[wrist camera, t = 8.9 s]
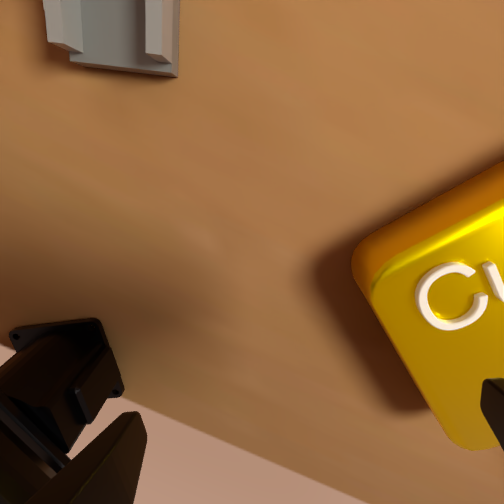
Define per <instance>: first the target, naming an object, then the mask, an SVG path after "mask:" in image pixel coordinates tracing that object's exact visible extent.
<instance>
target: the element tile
mask: <svg viewBox="0 0 504 504" xmlns="http://www.w3.org/2000/svg"><path fill="white" fill-rule="evenodd" d="M351 270H352V274H353V277H354V279H355V281H356V283H357V284H358V286H359V288H360V290H361V291H362V293H363V295H364V296H365V298H366V300H367V302H368V303H369V305H370V307H371V309H372V310H373V312H374V314H375V315H376V317H377V319H378V321H379V322H380V324H381V326H382V327H383V329H384V331H385V333H386V334H387V336H388V338H389V340H390V341H391V343H392V345H393V346H394V348H395V350H396V352H397V353H398V355H399V357H400V359H401V360H402V362H403V364H404V365H405V367H406V369H407V371H408V372H409V374H410V376H411V378H412V379H413V381H414V383H415V384H416V386H417V388H418V390H419V391H420V393H421V395H422V396H423V398H424V400H425V401H426V403H427V404H428V406H429V408H430V409H431V411H432V412H433V414H434V416H435V417H436V419H437V421H438V422H439V424H440V425H441V427H442V429H443V430H444V432H445V433H446V435H447V436H448V438H449V439H450V440H451V441H452V442H453V443H455V444H456V445H458V446H459V447H461V448H463V449H468V450H471V451H475V450H485V449H489V448H493V447H497V446H500V444H499V442H498V440H497V438H496V436H495V435H494V433H493V431H492V429H491V428H490V426H489V424H488V422H487V421H486V419H485V417H484V415H483V413H482V411H481V408H480V399H481V390H482V382H483V381H484V379H488V378H498V377H500V378H504V160H503V161H502V162H500V163H498V164H496V165H494V166H493V167H491V168H489V169H487V170H485V171H484V172H482V173H480V174H478V175H476V176H475V177H473V178H471V179H469V180H467V181H465V182H464V183H462V184H460V185H458V186H456V187H455V188H453V189H451V190H449V191H447V192H446V193H444V194H442V195H440V196H438V197H436V198H435V199H433V200H431V201H429V202H427V203H426V204H424V205H422V206H420V207H418V208H417V209H415V210H413V211H411V212H409V213H408V214H406V215H404V216H402V217H400V218H398V219H397V220H395V221H393V222H391V223H389V224H388V225H386V226H384V227H382V228H380V229H379V230H377V231H375V232H373V233H371V234H370V235H369V236H367V237H366V238H365V239H363V240H362V241H361V242H360V244H359V245H358V246H357V247H356V248H355V249H354V252H353V255H352V258H351Z"/></svg>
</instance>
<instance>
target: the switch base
mask: <svg viewBox="0 0 504 504" xmlns="http://www.w3.org/2000/svg"><path fill="white" fill-rule="evenodd" d="M43 6H44V10H45V18H46V29H47V39H48V42H50V43H52V44H54V45H56V46H58V47H61V48H63V49H65V50H67V51H69V57H70V61H71V62H74V63H76V64H79V65H81V66H84V67H93V68H101V69H110V70H119V71H127V72H136V73H144V74H153V75H161V76H170V77H178V51H179V13H180V0H43Z"/></svg>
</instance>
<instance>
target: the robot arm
mask: <svg viewBox="0 0 504 504" xmlns="http://www.w3.org/2000/svg"><path fill="white" fill-rule="evenodd" d="M91 325H94V326H95V328H94V327H92V326H91ZM18 335H19V336H18ZM9 338H10V340H11V342H12V344H13V346H14V348H15V350H16V352H17V353H16V354H15V355H13V356H12V357H11V358H10V359H9V360H8V361H6V362H5V363H4V364H3V365H2V366H1V367H0V504H133V502H134V498H135V494H136V489H137V485H138V480H139V476H140V471H141V467H142V462H143V457H144V453H145V448H146V444H147V433H146V429H145V427H144V424H143V421H142V418H141V415H140V413H139V412H137V411H133V412H124V413H122V414H121V415H120V416H119V417H118V418H116V419H115V420H114V421H113V422H112V423H111V424H110V425H109V426H108V427H107V428H106V429H105V430H104V431H103V432H101V433H100V434H99V435H98V436H97V437H96V438H95V439H94V440H93V441H92V442H91V443H89V444H88V445H87V446H86V447H85V448H84V449H83V450H82V451H81V452H80V453H79V454H78V455H76V456H75V457H74V458H73V459H72V460H71V459H70V458H69V457H68V456H67V455H66V454H67V453H69V451H70V450H71V448H72V447H73V445H74V443H75V442H76V440H77V439H78V437H79V435H80V434H81V432H82V431H83V429H84V427H85V426H86V424H91V423H92V422H93V421H94V419H95V418H96V416H97V414H98V412H99V411H100V409H101V408H102V406H103V404H104V403H105V401H106V399H107V398H117V397H120V396H121V395H122V394H123V392H124V390H125V389H124V385H123V382H122V379H121V377H120V376H121V374H120V372H119V369H118V366H117V363H116V360H115V358H114V355H113V352H112V349H111V348H110V346H109V343H108V340H107V338H106V335H105V332H104V329H103V326H102V324H101V322H100V321H99V320H98V319H95V318H90V319H82V320H74V321H66V322H57V323H49V324H41V325H33V326H24V327H17V328H15V329H13V330H12V331H11V332H10V333H9ZM115 389H116V390H115ZM117 390H118V391H117ZM480 408H481V411H482V413H483V415H484V417H485V419H486V421H487V422H488V424H489V426H490V428H491V429H492V431H493V433H494V435H495V436H496V438H497V440H498V442H499V444H500V445H501V447H502V449H503V451H504V378H500V377H498V378H488V379H484V381H483V382H482V390H481V399H480Z"/></svg>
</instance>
